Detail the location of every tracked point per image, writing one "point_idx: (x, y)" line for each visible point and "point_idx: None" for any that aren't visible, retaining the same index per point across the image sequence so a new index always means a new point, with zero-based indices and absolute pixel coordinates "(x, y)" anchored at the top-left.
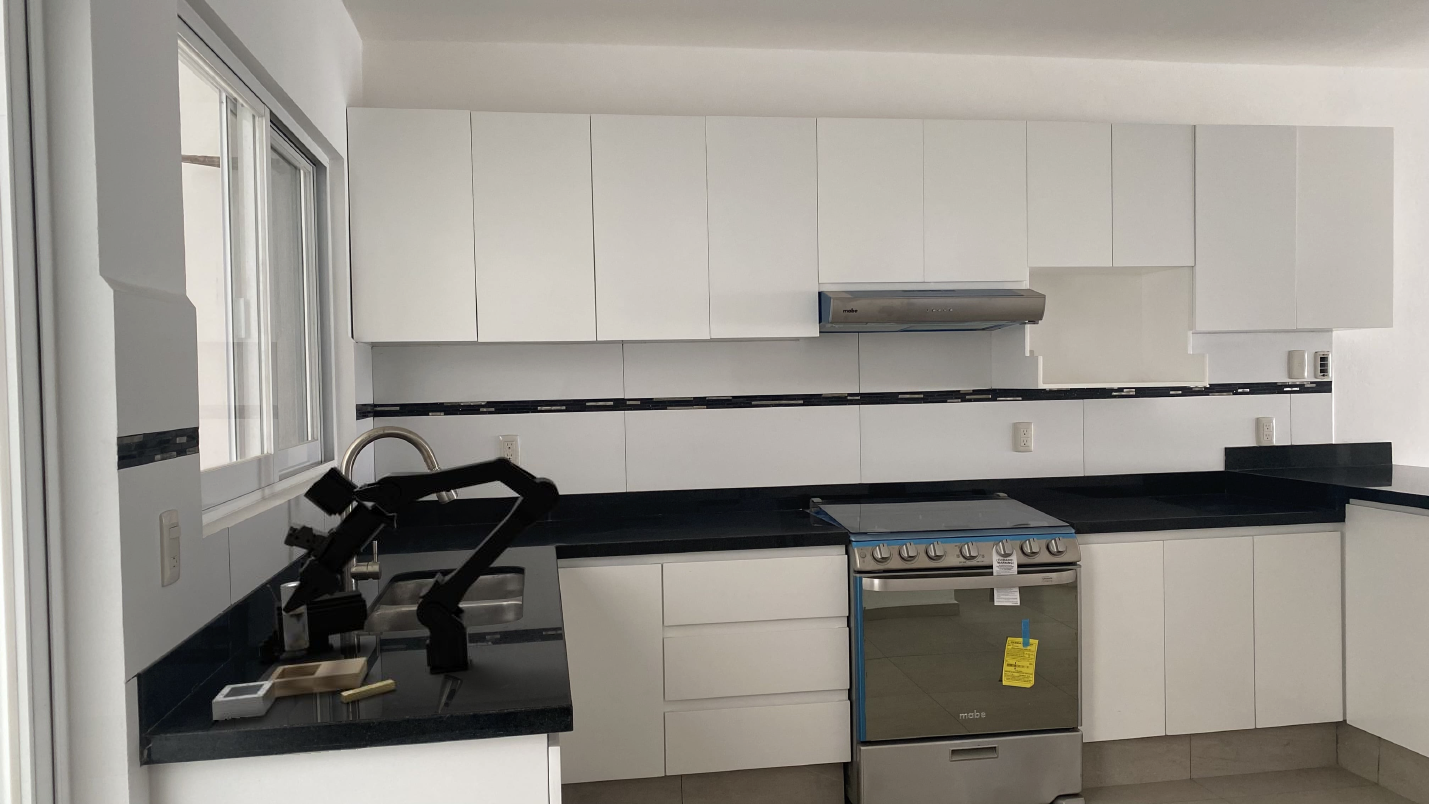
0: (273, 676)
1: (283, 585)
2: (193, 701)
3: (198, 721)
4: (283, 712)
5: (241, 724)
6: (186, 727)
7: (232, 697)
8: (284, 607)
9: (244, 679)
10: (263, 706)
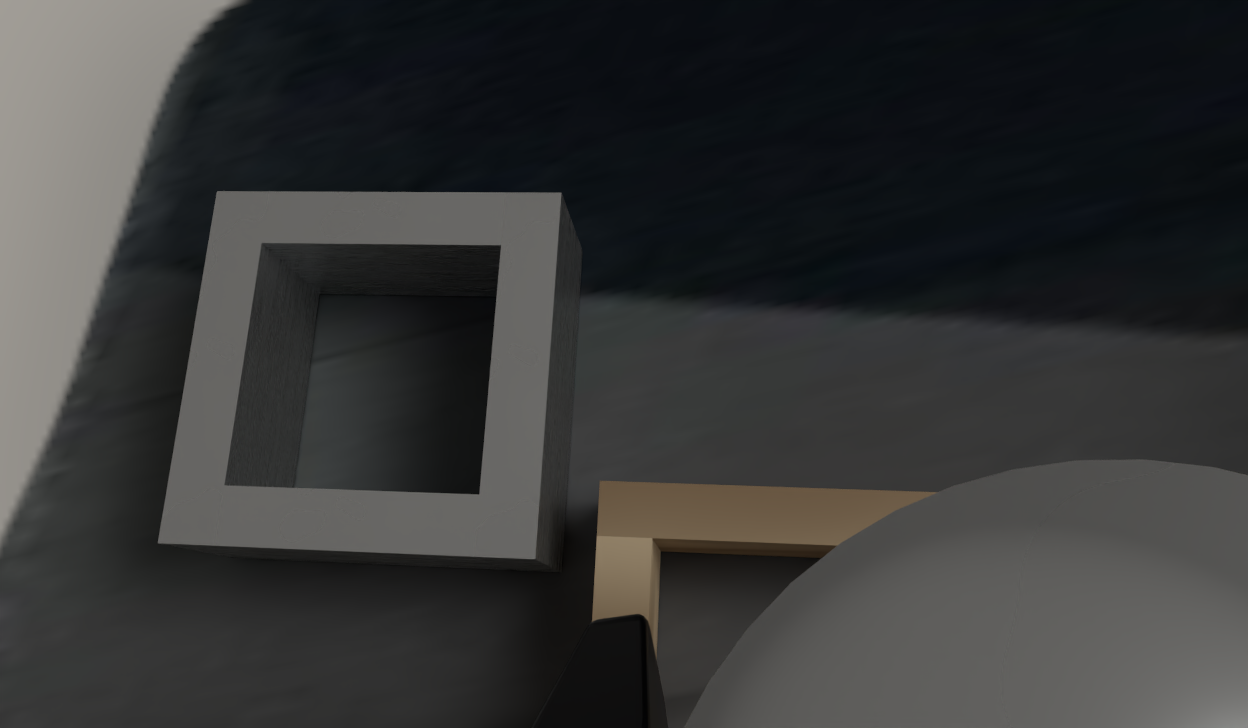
0: (749, 510)
1: (1112, 572)
2: (741, 13)
3: (323, 158)
4: (231, 694)
5: (131, 444)
6: (247, 120)
7: (237, 314)
8: (567, 674)
9: (1151, 220)
10: (212, 552)
